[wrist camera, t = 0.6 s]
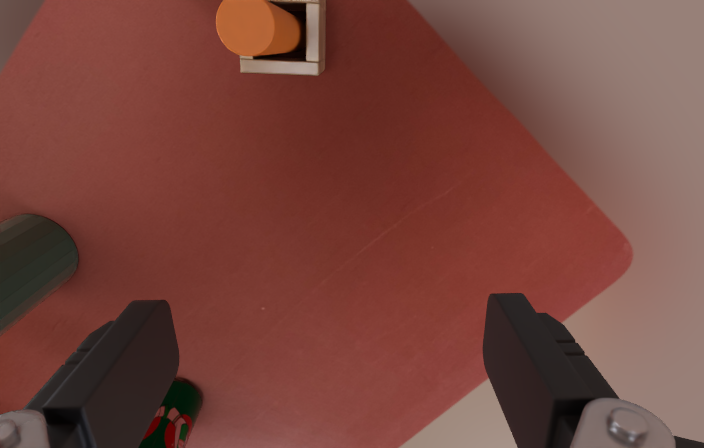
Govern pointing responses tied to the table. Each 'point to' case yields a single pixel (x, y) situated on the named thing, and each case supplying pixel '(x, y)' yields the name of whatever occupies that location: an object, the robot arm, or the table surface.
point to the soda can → (174, 418)
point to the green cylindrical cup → (31, 264)
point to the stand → (315, 44)
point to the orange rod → (259, 28)
